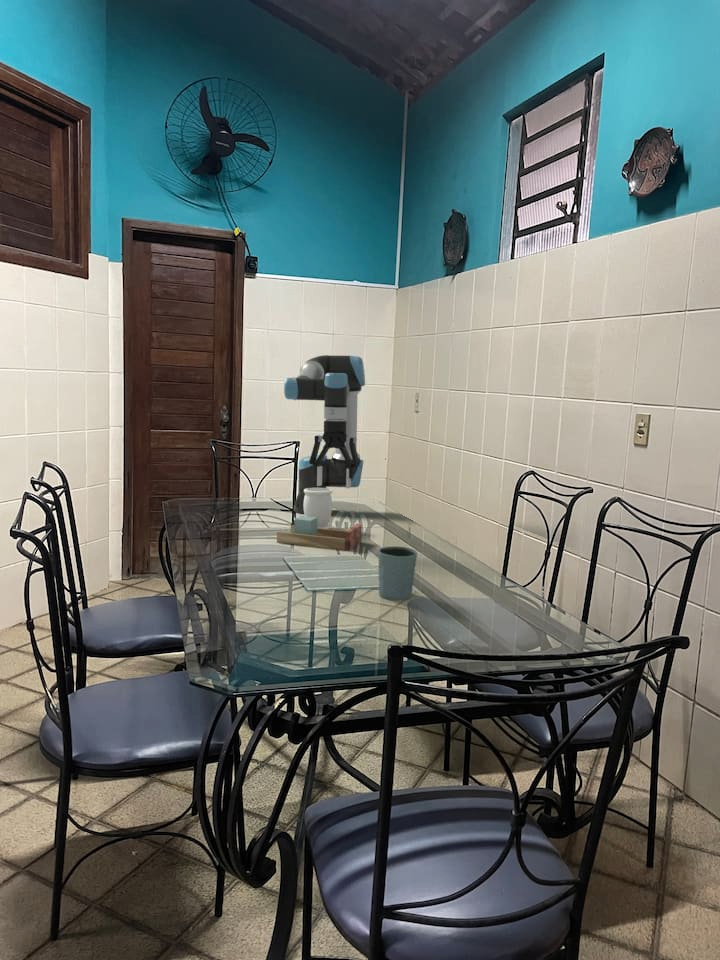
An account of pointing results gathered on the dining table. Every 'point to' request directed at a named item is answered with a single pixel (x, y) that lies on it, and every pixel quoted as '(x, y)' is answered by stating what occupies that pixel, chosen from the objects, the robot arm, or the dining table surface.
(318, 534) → the trough
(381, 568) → the blue-grey cup
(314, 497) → the jar
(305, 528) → the block
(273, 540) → the dining table surface
